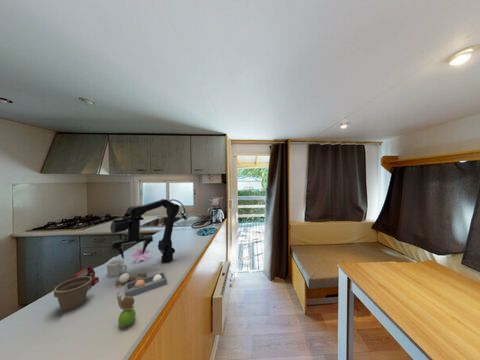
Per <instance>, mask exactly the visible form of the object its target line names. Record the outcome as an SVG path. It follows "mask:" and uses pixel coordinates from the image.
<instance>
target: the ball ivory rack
mask: <svg viewBox="0 0 480 360" xmlns="http://www.w3.org/2000/svg"><path fill="white" fill-rule="evenodd" d="M129 278H130V274H129V273H127V272H123V273H121V274H120V276H119V278H118V281H120V282H121V283H125V282H127V281H128V280H129Z"/></svg>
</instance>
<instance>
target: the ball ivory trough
mask: <svg viewBox="0 0 480 360" xmlns="http://www.w3.org/2000/svg"><path fill="white" fill-rule="evenodd" d="M157 274H158V275H156V274H155V275H156V276H154V278H153V281H152V283H154V282H157V281H160V280H163V279H162V276H161V275H159V273H157Z"/></svg>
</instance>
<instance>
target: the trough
mask: <svg viewBox="0 0 480 360" xmlns="http://www.w3.org/2000/svg"><path fill="white" fill-rule="evenodd" d="M158 274H159V275H161V276H162V280H160V281H157V282H154V283H153V278H154V276H156V275H158ZM139 280H144V281H145V286H142V287H139V288H136V289H135V287H134V286H135V283H136V282H137V281H138V280H136V281H133V282H129V283H126V284H125V286H124V293H125V294H124V296H125V297H127V296H131V297H134V296H138V295H141V294H143V293H145V292H149V291H151V290H155V289H157V288H160V287H162V286H166V285H168V279H167V276H166V275H165V272H160V273H157V274H153V275H149V276H147V277H146V278H143V279H139ZM132 288H133V289H132ZM125 297H124V298H125Z"/></svg>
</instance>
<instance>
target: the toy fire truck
mask: <svg viewBox="0 0 480 360" xmlns="http://www.w3.org/2000/svg"><path fill="white" fill-rule="evenodd" d="M83 276H89V277H91V278H92V284H91V285H90V286H89V288H88V291H89V290H90V289H91V288H92V286H93V287H94V286H95V285H96V284H98V282H100V281H99V277H98V276H96V271H95V269H94V268H93V267H92V266H91V265H87V266H86V267H85V268H83V269H81V270H80V271H79V272H77V273H76V274H74V275H73V277H72V279H74V278H78V277H83Z"/></svg>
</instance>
